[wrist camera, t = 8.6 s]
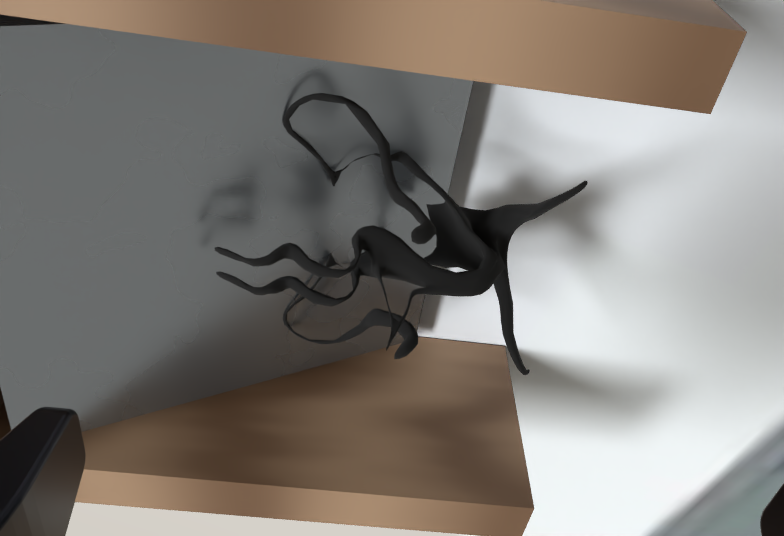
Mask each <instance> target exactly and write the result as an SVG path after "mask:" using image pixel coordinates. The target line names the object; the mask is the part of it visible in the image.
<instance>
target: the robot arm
mask: <svg viewBox="0 0 784 536" xmlns="http://www.w3.org/2000/svg"><path fill="white" fill-rule="evenodd" d="M85 458H86V453H85V447H84V442H83V437H82V432H81V427H80V421H79V417H78V414H77V413H76V411H74V410H73V409H68V408H57V407H41V408H39V409H37V410H35V411H34V412H32V413H31V414H30V415H29V416H28V417H26V418H25V419H24V420H23V421H22V422H21V423H19V424H18V425H17V426H16V427H15V428H13V429H12V430H11V431H10V432H9V433H8V434H6V435H5V436H4V437H3V438H2V439H0V536H65V534H66V531H67V527H68V524H69V520H70V517H71V513H72V509H73V506H74V503H75V499H76V496H77V492H78V489H79V485H80V481H81V478H82V474H83V471H84V466H85ZM760 526H761V534H762V536H784V483H783V485H782V486H781V487H780V489H779V490H778V491H777V493H776V494H775V495H774V497H773V498H772V499H771V501H770V502H769V503H768V505H767V506H766V507H765V508H764V510H763V512H762V515H761V521H760Z"/></svg>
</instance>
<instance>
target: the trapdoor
mask: <svg viewBox="0 0 784 536" xmlns="http://www.w3.org/2000/svg"><path fill="white" fill-rule="evenodd" d="M472 85H473V81H471V80H464V79H457V78H450V77H443V76H436V75H428V74H421V73H414V72H407V71H400V70H393V69H386V68H379V67H371V66H364V65H357V64H350V63H343V62H336V61H329V60H322V59H314V58H307V57H300V56H293V55H286V54H279V53H272V52H265V51H257V50H250V49H243V48H236V47H229V46H222V45H215V44H208V43H200V42H193V41H186V40H179V39H172V38H165V37H158V36H151V35H143V34H136V33H129V32H122V31H115V30H108V29H101V28H94V27H86V26H79V25H72V24H65V23H58V22H51V21H44V20H37V19H29V18H22V17H15V16H8V15H1V14H0V387H1V391H2V395H3V399H4V403H5V407H6V411H7V415H8V419H9V423H10V426H11V430H12V429H13V428H15V427H16V426H17V425H18V424H19V423H21V422H22V421H23V420H24V419H25V418H26V417H28V416H29V415H30V414H31V413H32V412H34V411H35V410H37V409H39V408H41V407H57V408H68V409H73V410H74V411H76V413H77V414H78V417H79V421H80V427H81V432H83V431H87V430H90V429H94V428H97V427H101V426H105V425H108V424H112V423H115V422H119V421H123V420H126V419H130V418H134V417H137V416H141V415H144V414H148V413H152V412H155V411H159V410H162V409H166V408H170V407H173V406H177V405H180V404H184V403H188V402H191V401H195V400H198V399H202V398H206V397H209V396H213V395H216V394H220V393H224V392H227V391H231V390H234V389H238V388H242V387H245V386H249V385H253V384H256V383H260V382H263V381H267V380H271V379H274V378H278V377H281V376H285V375H289V374H292V373H296V372H299V371H303V370H307V369H310V368H314V367H317V366H321V365H325V364H328V363H332V362H335V361H339V360H343V359H346V358H350V357H353V356H357V355H361V354H364V353H368V352H371V351H375V350H379V349H382V348H386V347H387V345H388V341H389V338H390V334H391V327H385V326H378V325H376V326H372V327H370V328H368V329H367V330H365V331H364V332H363V333H361V334H360V335H358V336H355V337H353V338H351V339H349V340H346V341H343V342H341V343H333V344H318V343H314V342H309V341H307V340H304V339H302V338H300V337H298V336H297V335H295V334H293V333H292V332H291V331H290V330H289V329H288V328H287V327H286V326H285V325H284V322H283V315H284V313H285V311H286V309H287V308H288V307H289V306H291V305H292V304H293V303H294V302H295V301H296V300H297V299H298V298H299V297H300V296H301V295H300V294H298V293H297V292H295V291H294V290H292V289H291V288H289V289H285V290H283V291H282V292H279V293H276V294H266V295H255V294H253V293H251V292H249V291H247V290H245V289H243V288H241V287H239V286H237V285H235V284H233V283H231V282H229V281H227V280H224V279H222V278H221V277H219V276H218V275H217V274H216V272H219V271H221V272H224V273H227V274H230V275H232V276H235V277H237V278H239V279H240V280H242V281H243V282H245V283H247V284H249V285H251V286H253V287H263V286H265V285H267V284H269V283H271V282H272V281H274V280H276V279H278V278H280V277H284V276H293V277H297V278H298V279H300V280H301V281H302V282H303V283H304V284H305V285H306V286H307V287H308V288H311V287H312V286H313V285H314V283H315V282H316V281H317V279H318V278H319V277H317V276H316V275H314V274H312V273H310V272H308V271H306V270H304V269H303V268H301V267H300V266H299V265H298V264H297V263H296V262H295V261H294V260H291V259H285V258H284V259H282V260H280V261H278V262H276V263H274V264H272V265H269V266H254V267H253V266H251V265H249V264H247V263H244V262H241V261H237V260H234V259H232V258H229V257H227V256H224V255H221V254H219V253H218V252H216V251H215V249H214V247H221V248H224V249H228V250H230V251H232V252H234V253H237V254H239V255H241V256H243V257H245V258H252V259H255V258H260V257H264V256H266V255H268V254H270V253H271V252H272V251H274V250H275V249H276V248H278V247H279V246H281V245H283V244H286V243H293V244H296V245H298V246H299V247H300V248H301V249H302V250H303V251H304V252H305V253H306V255H307V256H308V257H309V258H310V259H312V260H314V261H316V262H318V263H320V264H322V265H324V266H325V265H326V263H327V260H328V257H329V255H330V254H332V257H333V258H334V260H335V262H336V263H338V264H339V265H340V266H339V265H334V266H331V267H329V268H330V269H345V268H348V267H349V266H350V262H351V261H352V260H353V259H354V258H355V255H354V249H353V246H352V237H353V236H354V234H355V233H356V231H357V230H358V229H360V228H362V227H364V226H372V225H374V226H377V227H381V228H385V229H386V230H388V231H390V232H392V233H393V234H395V235H397V236H398V237H400V238H401V239H402V240H403V241H404V242H405V243H406V244H407V245H408V246H410V247H411V248H412V249H413V250H414V251H415V252H416V253H417V254H418V255H420V256H421V257H422V258H425V257H426V256H428V255H430V254H432V253H433V251H434V249H435V248H436V238H437V237H436V234H435V235H434V236H433V237H432V239H431V240H429V241H428V242H427V243H425V244H416V243H414V242H412V239H411V232H412V231H413V230H414V229H415V227H417V226H419V225H421V224H420V223H419V222H418V221H417V220H416V219H415V218H414V216H413V215H412V214H411V213H410V212H409V211H407V210H406V209H404V208H403V207H401V206H399V205H398V204H396V203H395V202H394V201H393V200H392V198H391V197H390V194H389V192H388V189H387V187H386V184H385V180H384V176H383V171H382V165H381V159H380V157H378V156H375V155H373V154H374V153H378V154H380V153H379V149H378V145H377V143H376V142H375V141H374V140H373V138H372V137H371V136H370V135H369V133H368V132H367V131H366V130H365V128H364V127H363V126H362V125H361V123H360V122H359V121H358V119H357V118H356V117H355V116H354V114H353V113H352V112H351V111H350V109H349V108H348V107H347V106H346V104H341V103H334V102H326V101H319V100H311V101H309V102H306V103H304V104H302V105H300V106H299V107H298V108H297V110H296V111H295V112H294V114H293V115H292V116H291V117H290V119H289V120H290V123H291V127H292V130H293V131H294V132H296V133H297V134H298V135H299V136H301V137H302V138H303V139H304V140H305V141H307V142H308V143H309V144H310V145H311V146H312V147H313V148H314V149H315V150H316V151H317V153H318V154H319V155H320V156H321V157H322V159H323V160H324V161H325V162H326V163H327V165H328V166H329V167H330V168H331V169H332V170H333V171H335V172H336V171H338V170H341V169H343V168H345V167H346V166H347V165H348V164H349V166H348V167H347V168H346V169H344V170H343V171H342V172H341V174H340V176H339V179H338V181H337V182H336V184H335V186H333V185H332V183H331V179H330V177H329V175H328V173H327V172H326V170H325V169H324V167H323V165H322V164H321V162H320V161H319V160H318V159H317V158H316V157H315V156H314V155H313V154H312V153H310V152H309V151H308V150H307V149H306V148H305V147H304V146H303V145H302V144H300V143H299V142H298V141H297V140H296V139H294V138H293V137H292V136H291V135H290V134H288V132H287V131H286V129H285V127H284V125H283V117H284V115H285V112H286V111H287V109H288V108H289V107H290V105H292V104H293V103H294V102H295V101H297V100H299V99H300V98H302V97H304V96H307V95H311V94H315V93H325V94H332V95H338V96H343V97H345V98H348V99H350V100H352V101H354V102H355V103H357V104H358V105H359V106H361V107H362V108H363V109H365V110H366V111H367V112H368V113H369V115H370V116H371V118H372V119H373V120H374V122H375V123H376V125H377V126H378V128H379V129H380V131H381V132H382V133H383V135H384V136H385V138H386V139H387V141H388V142H389V144H390V155H392V154H394V153H397V152H400V151H402V152H405V153H407V154H408V155H409V156H410V157H411V158H412V159H413V160H414V161H415V162H416V163H417V164H418V165H419V166H420V167H421V168H422V169H423V170H424V172H426V173H427V174H428V175H429V176H430V177H431V178H432V179H433V180H434V181H435V182H436V183H437V184H438V185H439V186H440V187H441V188H442V189H444V191H445V192H446V193H447V194H448V191H449V187H450V182H451V178H452V173H453V169H454V164H455V160H456V156H457V151H458V147H459V142H460V138H461V133H462V129H463V125H464V120H465V116H466V111H467V107H468V103H469V98H470V94H471V89H472ZM370 154H371V155H370ZM366 155H369V156H366ZM362 156H366V157H363V158H361V159H358V160H356V161H353V160H355V159H357V158H359V157H362ZM352 161H353V162H352ZM392 165H393V170H394V175H395V178H396V182H397V184H398V186H399V187H400V189H401V191H402V192H403V193H405V194H406V195H407V196H408V197H409V198H411V199H412V200H413V201H414V202H415V203H416V204H417V205H418V206H419V207H420V208H421V210H422V211H423V212H424V213H425V215H426V216H427V217H428V218H429V214H428V209H427V205H426V204H431V205H432V204H442V203H444V202H445V200H444V199H443V197H442V196H441V195H440V194H438V193H437V192H436V191H435V190H434V189H433V188H432V187H431V186H430V185H428V184H427V183H425V182H424V181H422V180H421V179H419V178H418V177H416V176H415V175H414V174H413V173H411V172H410V171H409V170H408V169H407V168H406V167H405V166H404V165H403V164H402V163H400V162H397V161H392ZM429 220H430V218H429ZM363 252H364V250H362V252H361V253H363ZM431 265H432V264H431ZM341 266H342V267H341ZM382 281H383V285H384V288H385V292H386V296H387V301H388V305H389V307H390V310H391V312H392V313H395V314H398V315H401V316H403V314H404V313H405V310H406V308H407V305H408V300H409V296H410V294H411V292H412V291H413V290H414V289H419V288H424V287H421V286H418V285H415V284H411V283H408V282H405V281H401V280H395V279H389V278H382ZM313 290H315V291H318V292H320V293H323V294H325V295H328V296H330V297H333V298H335V299H336V298H340V297H345V296H347V295H348V294H349V293H350V292H351V291H352V290H353V287H352V277H351V273H348V274H346V275H344V276H342V277H340V278H330V277H322V278H321V280H320V281H319V282H318V284H317V285H316V286H315V287H314V289H313ZM424 297H425V294H417V295H415V296H414V297H413V298H412V300H411V303H410V307H409V310H408V313H407V315H406V317H405V319H406V320H407V321H409V322H410V323H411V324H412V325H413V326H414V328H415V330H416V332H417V328H418V323H419V319H420V315H421V310H422V306H423V301H424ZM374 308H379V309H382V310H384V311H388V312H389V310H388V306H387V302H386V298H385V295H384V292H383V289H382V286H381V284H380V282H379V280H378V278H374V277H370V276H364V275H363V276H360V280H359V284H358V286H357V288H356V291H355V292H354V293H353V295H352V296H351V297H350V298H349V299H347V300H346V301H344V302H342V303H340V304H338V305H335V306H332V307H331V306H325V305H319V304H314V303H312V302H311V301H309V300H308V299H306V298H304V299H303V300H301V301H300V302H298V303H297V304H295V305H294V306H293V307H292V308H291V310H290V311H289V312H288V313H287V323H288V324H289V325H290V326H291V328H292V329H293V330H294V331H295V332H296V333H298V334H300V335H302V336H304V337H306V338H308V339H311V340H336V339H337V338H339V337H340V336H342V335H343V334H345V333H346V332H348V331H350V330H351V329H353V328H354V327H356V326H357V325H359V324H360V322H361V321H362V320H363V319H364V317H365V316H366V315H367V313H369V312H370V311H371V310H372V309H374ZM403 341H404V339H403V337H402V336H401V335H400V334H399V332H397V333H396V335H395V337H394V339H393V340H392V342H391V343H390V346H393V345H397V344H400V343H402V342H403ZM390 346H389V347H390Z"/></svg>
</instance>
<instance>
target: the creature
mask: <svg viewBox="0 0 784 536" xmlns="http://www.w3.org/2000/svg"><path fill="white" fill-rule="evenodd" d="M311 100H319V101H326V102H334V103H341V104H346V106H347V107H348V108H349V109H350V111H351V112H352V113H353V114H354V116H355V117H356V118H357V119H358V121H359V122H360V123H361V125H362V126H363V127H364V128H365V130H366V131H367V132H368V133H369V135H370V136H371V137H372V138H373V140H374V141H375V142H376V143H377V145H378V149H379V153H380V154H378V153H374V154H373V155H375V156H378V157H380V159H381V165H382V171H383V176H384V180H385V184H386V187H387V189H388V192H389V194H390V197H391V198H392V200H393V201H394V202H395V203H396V204H398V205H399V206H401V207H403V208H404V209H406V210H407V211H409V212H410V213H411V214H412V215H413V216H414V218H415V219H416V220H417V221H418V222H419V223H420V224H421V225H419V226H417V227H415V229H414V230H413V231H412V232H411V239H412V242H414V243H416V244H425V243H427V242H428V241H429V240H431V239H432V237H433V236H434V235H435V234H436V237H437V238H436V248H435V249H434V251H433V253H432V254H430V255H428V256H426V257H425V258H422V257H421V256H420V255H418V254H417V253H416V252H415V251H414V250H413V249H412V248H411V247H410V246H408V245H407V244H406V243H405V242H404V241H403V240H402V239H401V238H400V237H398V236H397V235H395V234H393V233H392V232H390V231H388V230H386V229H385V228H381V227H377V226H374V225H372V226H364V227H362V228H360V229H358V230H357V231H356V233H355V234H354V236H353V237H352V246H353V249H354V255H355V258H354V259H353V260H352V261H351V262H350V266H349V267H348V268H345V269H330V268H329V267H331V266H334V265H339V264H338V263H336V262H335V260H334V258H333V257H332V254H330V255H329V257H328V260H327V263H326V265H325V266H324V265H322V264H320V263H318V262H316V261H314V260H312V259H310V258H309V257H308V256H307V255H306V253H305V252H304V251H303V250H302V249H301V248H300V247H299V246H298V245H296V244H293V243H286V244H283V245H281V246H279V247H278V248H276V249H275V250H274V251H272V252H271V253H270V254H268V255H266V256H264V257H260V258H255V259H252V258H245V257H243V256H241V255H239V254H237V253H234V252H232V251H230V250H228V249H224V248H221V247H214V249H215V251H216V252H218V253H219V254H221V255H224V256H227V257H229V258H232V259H234V260H237V261H241V262H244V263H247V264H249V265H251V266H253V267H254V266H269V265H272V264H274V263H276V262H278V261H280V260H282V259H284V258H285V259H291V260H294V261H295V262H296V263H297V264H298V265H299V266H300V267H301V268H303V269H304V270H306V271H308V272H310V273H312V274H314V275H316V276H317V277H319V278H318V279H317V281H316V282H315V283H314V285H313V286H312V287H311V288H308V287H307V286H306V285H305V284H304V283H303V282H302V281H301V280H300V279H298V278H297V277H293V276H284V277H280V278H278V279H276V280H274V281H272V282H271V283H269V284H267V285H265V286H263V287H253V286H251V285H249V284H247V283H245V282H243V281H242V280H240V279H239V278H237V277H235V276H232V275H230V274H227V273H224V272H221V271H219V272H216V274H217V275H218V276H219V277H221V278H222V279H224V280H227V281H229V282H231V283H233V284H235V285H237V286H239V287H241V288H243V289H245V290H247V291H249V292H251V293H253V294H255V295H266V294H276V293H279V292H282V291H283V290H285V289H289V288H291V289H292V290H294V291H295V292H297V293H298V294H300V295H301V296H300V297H299V298H298V299H297V300H296V301H295V302H294V303H293V304H292V305H291V306H289V307H288V308H287V309H286V311H285V313H284V315H283V322H284V325H285V326H286V327H287V328H288V329H289V330H290V331H291V332H292V333H293V334H295V335H297V336H298V337H300V338H302V339H304V340H307V341H309V342H314V343H318V344H333V343H341V342H343V341H346V340H349V339H351V338H353V337H355V336H358V335H360V334H361V333H363V332H364V331H365V330H367V329H368V328H370V327H372V326H376V325H378V326H385V327H391V334H390V338H389V341H388V345H387V347H386V351H387V349H388V348H389V346H390V343H391V342H392V340H393V339H394V337H395V335H396V333H397V332H399V334H400V335H401V336H402V337H403V339H404V341H403V342H402V343H401V345H400V346H399V348H398V349H397V351H396V352H395V355H394V359H400V358H403V357H405V356H407V355H408V354H409V353H411V352H412V351H413V349H414V348H415V347H416V346H417V345H418V335H417V332H416V330H415V328H414V326H413V325H412V324H411V323H410V322H409V321H407V320H406V319H405V317H406V315H407V313H408V310H409V307H410V303H411V300H412V298H413V297H414V296H415V295H417V294H432V295H448V296H475V295H480V294H482V293H484V292H485V291H487V290H488V289H489V288H490V287H491V286H492V284H493V283H494V286H495V290H496V293H497V296H498V300H499V305H500V313H501V324H502V331H503V336H504V339H505V342H506V345H507V348H508V350H509V352H510V355H511V357H512V359H513V361H514V363H515V365H516V367H517V368H518V370H519V371H520V372H521V373H522V374H523V375H527V374H528V373H529V370H527V369H526V368H525V366H524V365H523V362H522V360H521V357H520V354H519V352H518V349H517V345H516V341H515V337H514V333H513V301H512V296H511V291H510V285H509V278H508V268H507V251H508V245H509V242H510V239H511V236H512V235H513V233H514V231H515V230H516V229H517V228H518V227H519V226H520V225H522V224H523V223H524V222H527V221H529V220H532V219H535V218H537V217H538V216H540V215H542V214H543V213H545V212H547V211H548V210H550V209H552V208H554V207H555V206H557V205H559V204H561V203H563V202H564V201H566V200H568V199H569V198H571V197H573V196H574V195H576V194H577V193H579V192H580V191H581V190H582V189H584V188H585V186H586V185H587V183H588V182H587V181H584V182H582V183H581V184H579V185H578V186H576V187H574V188H573V189H571V190H569V191H567V192H565V193H563V194H560V195H558V196H556V197H553V198H551V199H549V200H546V201H544V202H541V203H538V204H517V205H505V206H502V207H499V208H495V209H490V210H486V211H485V210H474V209H468V208H464V207H459V206H458V205H457V204H456V203H455V202H454V201H453V199H452V198H451V197H450V196H449V195H448V194H447V193H446V192H445V191H444V189H442V188H441V187H440V186H439V185H438V184H437V183H436V182H435V181H434V180H433V179H432V178H431V177H430V176H429V175H428V174H427V173H426V172H424V170H423V169H422V168H421V167H420V166H419V165H418V164H417V163H416V162H415V161H414V160H413V159H412V158H411V157H410V156H409V155H408V154H407V153H405V152H402V151H400V152H397V153H394V154H392V155H390V144H389V142H388V141H387V139H386V138H385V136H384V135H383V133H382V132H381V131H380V129H379V128H378V126H377V125H376V123H375V122H374V120H373V119H372V118H371V116H370V115H369V113H368V112H367V111H366V110H365V109H363V108H362V107H361V106H359V105H358V104H357V103H355V102H354V101H352V100H350V99H348V98H345V97H343V96H338V95H332V94H325V93H315V94H311V95H307V96H304V97H302V98H300V99H299V100H297V101H295V102H294V103H293V104H292V105H290V107H289V108H288V109H287V111H286V112H285V115H284V117H283V125H284V127H285V129H286V131H287V132H288V134H290V135H291V136H292V137H293V138H294V139H296V140H297V141H298V142H299V143H300V144H302V145H303V146H304V147H305V148H306V149H307V150H308V151H309V152H310V153H312V154H313V155H314V156H315V157H316V158H317V159H318V160H319V161H320V162H321V164H322V165H323V167H324V169H325V170H326V172H327V173H328V175H329V177H330V179H331V183H332V185H333V186H335V184H336V182H337V181H338V179H339V176H340V174H341V172H342V171H343V170H344V169H346V168H347V167H348V166H349V164H348V165H347V166H346V167H345V168H343V169H341V170H338V171H336V172H335V171H333V170H332V169H331V168H330V167H329V166H328V165H327V163H326V162H325V161H324V160H323V159H322V157H321V156H320V155H319V154H318V153H317V151H316V150H315V149H314V148H313V147H312V146H311V145H310V144H309V143H308V142H307V141H305V140H304V139H303V138H302V137H301V136H299V135H298V134H297V133H296V132H294V131H293V130H292V127H291V123H290V120H289V119H290V117H291V116H292V115H293V114H294V112H295V111H296V110H297V108H298V107H299V106H300V105H302V104H304V103H306V102H309V101H311ZM370 155H371V154H370ZM366 156H369V155H366ZM366 156H362V157H359V158H357V159H355V160H353V161H356V160H358V159H361V158H363V157H366ZM353 161H352V162H353ZM392 161H397V162H400V163H402V164H403V165H404V166H405V167H406V168H407V169H408V170H409V171H410V172H411V173H413V174H414V175H415V176H416V177H418V178H419V179H421V180H422V181H424V182H425V183H427V184H428V185H430V186H431V187H432V188H433V189H434V190H435V191H436V192H437V193H438V194H440V195H441V196H442V197H443V199H444V200H445V202H444V203H442V204H432V205H431V204H426V205H427V209H428V214H429V218H430V220H429V218H428V217H427V216H426V215H425V213H424V212H423V211H422V210H421V208H420V207H419V206H418V205H417V204H416V203H415V202H414V201H413V200H412V199H411V198H409V197H408V196H407V195H406V194H405V193H403V192H402V191H401V189H400V187H399V186H398V184H397V182H396V178H395V175H394V170H393V165H392ZM362 250H364V252H363V253H361V252H362ZM431 264H432V265H437V266H441V267H445V268H449V267H460V268H463V269H465V270H468V271H463V272H457V273H456V272H452V271H449V270H445V269H441V268H438V267H434V266H432V265H431ZM339 266H340V265H339ZM341 267H342V266H341ZM348 273H351V277H352V287H353V290H352V291H351V292H350V293H349V294H348V295H347V296H345V297H340V298H336V299H335V298H333V297H330V296H328V295H325V294H323V293H320V292H318V291H315V290H313V289H314V287H315V286H316V285H317V284H318V282H319V281H320V280H321V278H322V277H330V278H340V277H342V276H344V275H346V274H348ZM363 275H364V276H370V277H374V278H378V280H379V282H380V284H381V286H382V289H383V292H384V295H385V298H386V302H387V306H388V310H389V312H388V311H384V310H382V309H379V308H374V309H372V310H371V311H370V312H369V313H367V315H366V316H365V317H364V319H363V320H362V321H361V322H360V324H359V325H357V326H356V327H354V328H353V329H351V330H350V331H348V332H346V333H345V334H343V335H342V336H340V337H339V338H337V339H336V340H311V339H308V338H306V337H304V336H302V335H300V334H298V333H296V332H295V331H294V330H293V329H292V328H291V326H290V325H289V324H288V323H287V313H288V312H289V311H290V310H291V308H292V307H293V306H294V305H295V304H297V303H298V302H300V301H301V300H303V299H304V298H306V299H308V300H309V301H311V302H312V303H314V304H319V305H325V306H331V307H332V306H335V305H338V304H340V303H342V302H344V301H346V300H347V299H349V298H350V297H351V296H352V295H353V293H354V292H355V291H356V288H357V286H358V284H359V280H360V276H363ZM382 278H389V279H395V280H401V281H405V282H408V283H411V284H415V285H418V286H421V287H424V288H419V289H414V290H413V291H412V292H411V294H410V296H409V300H408V305H407V308H406V310H405V313H404V314H403V316H401V315H398V314H395V313H392V312H391V310H390V307H389V305H388V301H387V296H386V292H385V288H384V285H383V281H382Z"/></svg>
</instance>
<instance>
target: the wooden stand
mask: <svg viewBox="0 0 784 536" xmlns="http://www.w3.org/2000/svg"><path fill="white" fill-rule="evenodd" d="M0 14H1V15H8V16H15V17H22V18H29V19H37V20H44V21H51V22H58V23H65V24H72V25H79V26H86V27H94V28H101V29H108V30H115V31H122V32H129V33H136V34H143V35H151V36H158V37H165V38H172V39H179V40H186V41H193V42H200V43H208V44H215V45H222V46H229V47H236V48H243V49H250V50H257V51H265V52H272V53H279V54H286V55H293V56H300V57H307V58H314V59H322V60H329V61H336V62H343V63H350V64H357V65H364V66H371V67H379V68H386V69H393V70H400V71H407V72H414V73H421V74H428V75H436V76H443V77H450V78H457V79H464V80H471V81H478V82H485V83H493V84H500V85H507V86H514V87H521V88H528V89H535V90H542V91H550V92H557V93H564V94H571V95H578V96H585V97H592V98H599V99H607V100H614V101H621V102H628V103H635V104H642V105H649V106H656V107H664V108H671V109H678V110H685V111H692V112H699V113H706V114H711V112H712V109H713V107H714V105H715V103H716V100H717V98H718V96H719V94H720V91H721V89H722V87H723V85H724V83H725V80H726V78H727V76H728V74H729V71H730V69H731V67H732V65H733V62H734V60H735V58H736V56H737V53H738V51H739V49H740V47H741V44H742V42H743V40H744V38H745V36H746V33H747V31H746V30H745V29H743V28H742V27H741V26H740V25H739V24H738V23H737V22H736V21H735V20H734V19H732V18H731V17H730V16H729V15H728V14H727V13H726V12H725V11H724V10H723V9H721V8H720V7H719V6H718V5H717V4H716V3H715V2H714V1H713V0H0ZM400 345H401V343H400V344H397V345H393V346H390V347H389V348H388V349H387V351H386V348H382V349H379V350H375V351H371V352H368V353H364V354H361V355H357V356H353V357H350V358H346V359H343V360H339V361H335V362H332V363H328V364H325V365H321V366H317V367H314V368H310V369H307V370H303V371H299V372H296V373H292V374H289V375H285V376H281V377H278V378H274V379H271V380H267V381H263V382H260V383H256V384H253V385H249V386H245V387H242V388H238V389H234V390H231V391H227V392H224V393H220V394H216V395H213V396H209V397H206V398H202V399H198V400H195V401H191V402H188V403H184V404H180V405H177V406H173V407H170V408H166V409H162V410H159V411H155V412H152V413H148V414H144V415H141V416H137V417H134V418H130V419H126V420H123V421H119V422H115V423H112V424H108V425H105V426H101V427H97V428H94V429H90V430H87V431H83V432H82V437H83V442H84V447H85V453H86V458H85V466H84V471H83V474H82V478H81V481H80V485H79V489H78V492H77V496H76V499H75V502H82V503H94V504H106V505H118V506H131V507H142V508H154V509H166V510H178V511H191V512H203V513H215V514H226V515H238V516H250V517H262V518H274V519H287V520H298V521H310V522H323V523H335V524H346V525H359V526H371V527H383V528H395V529H407V530H419V531H431V532H443V533H455V534H467V535H479V536H522V535H523V532H524V530H525V528H526V526H527V523H528V521H529V519H530V517H531V515H532V512H533V510H534V505H533V499H532V494H531V488H530V483H529V477H528V471H527V466H526V460H525V455H524V449H523V444H522V438H521V433H520V427H519V421H518V416H517V410H516V405H515V399H514V394H513V388H512V383H511V377H510V371H509V366H508V360H507V355H506V349H505V346H499V345H489V344H480V343H471V342H461V341H452V340H443V339H433V338H424V337H418V345H417V346H416V347H415V348H414V349H413V351H412V352H411V353H409V354H408V355H407V356H405V357H403V358H400V359H394V355H395V352H396V351H397V349H398V348H399V346H400ZM10 431H11V426H10V423H9V419H8V415H7V411H6V407H5V403H4V399H3V395H2V391H1V387H0V439H2V438H3V437H4V436H5V435H6V434H8V433H9V432H10Z"/></svg>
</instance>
